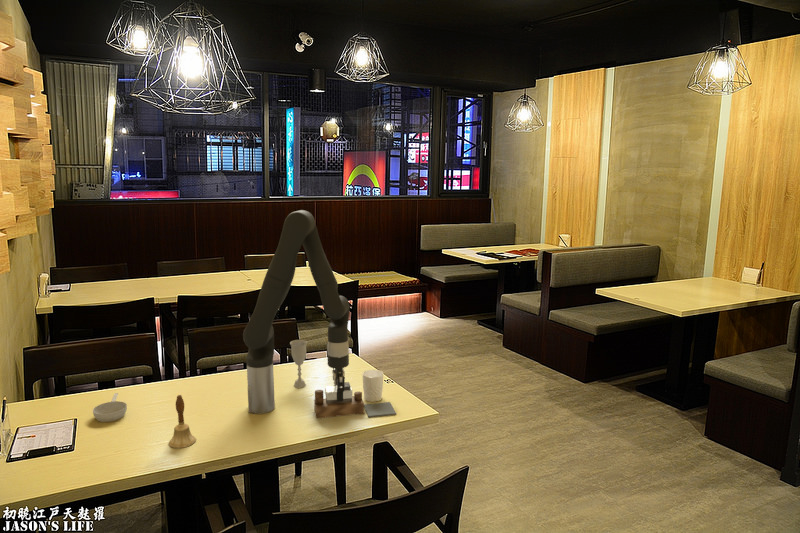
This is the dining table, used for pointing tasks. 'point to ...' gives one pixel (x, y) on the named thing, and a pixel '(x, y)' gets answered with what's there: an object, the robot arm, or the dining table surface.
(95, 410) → the pan
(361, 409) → the plane body
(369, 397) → the white cup
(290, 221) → the robot arm
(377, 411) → the slate mat
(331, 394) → the lever cap
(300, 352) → the chalice
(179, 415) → the hand bell
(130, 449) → the dining table surface
